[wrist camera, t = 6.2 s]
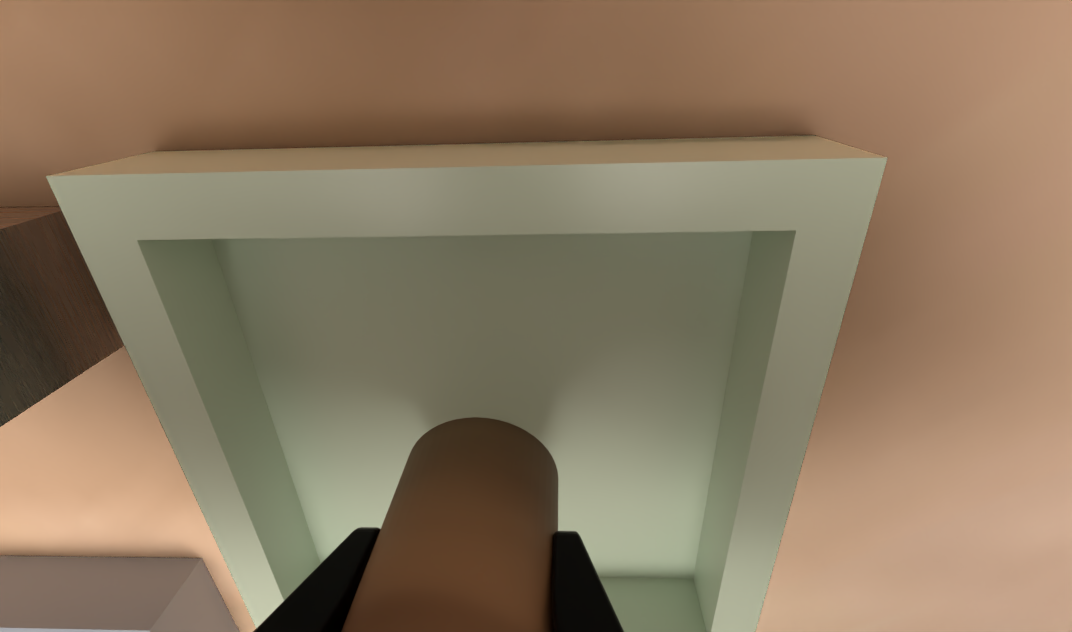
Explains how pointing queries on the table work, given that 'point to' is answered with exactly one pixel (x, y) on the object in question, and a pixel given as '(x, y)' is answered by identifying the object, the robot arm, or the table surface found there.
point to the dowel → (465, 536)
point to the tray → (490, 337)
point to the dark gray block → (46, 309)
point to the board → (110, 595)
